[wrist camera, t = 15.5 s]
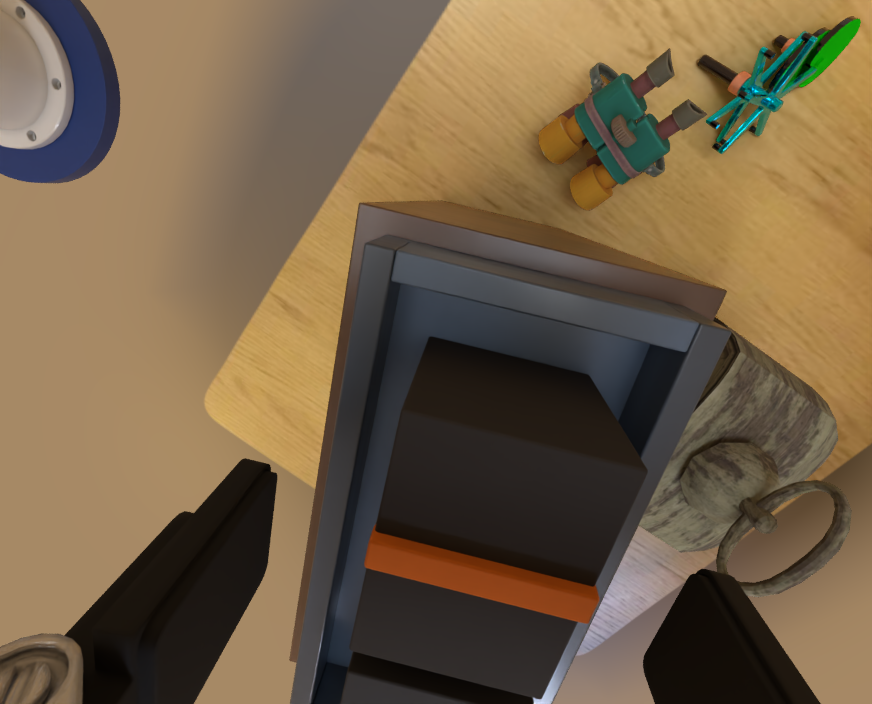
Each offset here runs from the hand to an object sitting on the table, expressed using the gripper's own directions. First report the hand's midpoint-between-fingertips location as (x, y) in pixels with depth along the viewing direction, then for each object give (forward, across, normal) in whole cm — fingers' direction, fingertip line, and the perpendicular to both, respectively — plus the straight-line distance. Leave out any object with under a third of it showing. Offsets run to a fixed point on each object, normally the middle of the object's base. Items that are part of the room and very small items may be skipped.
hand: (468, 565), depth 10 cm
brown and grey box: (+34, -1, +3) cm, 34 cm away
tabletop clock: (+34, -17, +4) cm, 38 cm away
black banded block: (+5, 0, 0) cm, 5 cm away
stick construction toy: (+34, -17, -21) cm, 43 cm away
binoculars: (+34, -7, -14) cm, 37 cm away
